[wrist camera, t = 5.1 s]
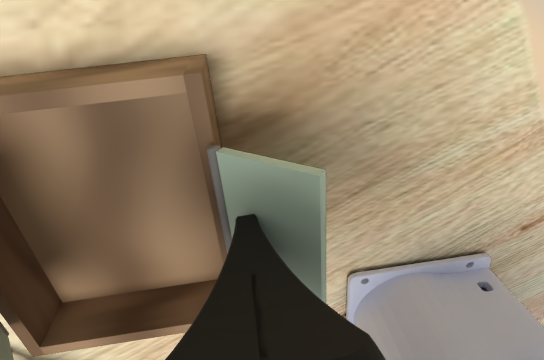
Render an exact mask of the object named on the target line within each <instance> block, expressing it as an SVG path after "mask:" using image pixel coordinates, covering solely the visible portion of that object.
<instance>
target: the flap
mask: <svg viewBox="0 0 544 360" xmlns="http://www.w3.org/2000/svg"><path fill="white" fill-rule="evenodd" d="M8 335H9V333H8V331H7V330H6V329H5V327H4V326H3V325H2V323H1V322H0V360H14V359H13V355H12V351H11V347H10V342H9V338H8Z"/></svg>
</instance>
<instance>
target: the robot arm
mask: <svg viewBox="0 0 544 360" xmlns="http://www.w3.org/2000/svg"><path fill="white" fill-rule="evenodd" d="M490 264H491V257H490V256H489V255H488V254H486V253H481V254H475V255H468V256H462V257H455V258H449V259H442V260H436V261H429V262H423V263H416V264H410V265H403V266H396V267H390V268H383V269H377V270H370V271H364V272H357V273H353V274H351V275H350V276H349V277H348V286H347V309H346V319H345V318H344V317H342V316H341V315H340V314H338V313H337V312H336V311H334V310H333V309H332V308H331V307H329V306H328V305H327V304H326V303H325V302H323V301H322V300H321V299H320V298H319V297H318V296H316V295H315V294H314V293H313V292H312V291H311V290H310V289H309V288H308V287H307V286H306V285H305V284H303V283H302V282H301V280H300V279H299V278H298V277H297V276H296V275H295V274H294V273H293V272H292V271H291V270H290V269H289V267H288V266H287V265H286V264H285V262H284V261H283V260H282V259H281V258H280V256H279V255H278V254H277V252H276V251H275V249H274V248H273V246H272V245H271V244H270V242H269V241H268V239H267V237H266V236H265V234H264V232H263V231H262V229H261V227H260V225H259V222H258V220H257V217H256V216H255V215H254V214H250V215H244V216H237V218H236V221H235V229H234V234H233V238H232V242H231V245H230V248H229V251H228V254H227V257H226V260H225V262H224V265H223V267H222V270H221V272H220V274H219V277H218V279H217V281H216V283H215V285H214V287H213V289H212V291H211V293H210V295H209V297H208V299H207V300H206V302H205V304H204V306H203V307H202V309H201V311H200V312H199V314H198V316H197V317H196V319H195V320H194V322H193V323H192V325H191V326H190V328H189V329H188V330H187V332H186V333H185V335H184V336H183V338H182V339H181V340H180V342H179V343H178V344H177V346H176V347H175V348H174V350H173V351H172V352H171V353H170V355H169V356H168V357H167V358H166V359H165V360H544V327H543V326H542V325H541V324H540V323H539V322H538V321H537V319H536V318H535V317H534V316H533V315H532V314H531V313H530V312H529V311H528V310H527V309H526V308H525V306H524V305H523V304H522V303H521V302H520V301H519V300H518V299H517V298H516V297H515V296H514V295H513V293H512V292H511V291H510V290H509V289H508V288H507V287H506V286H505V285H504V284H503V283H502V282H501V280H500V279H499V278H498V277H497V276H496V275H495V274H494V273H493V272H492V271H491V270H490V269H489V267H490ZM364 278H365V279H364ZM362 279H363V280H362Z"/></svg>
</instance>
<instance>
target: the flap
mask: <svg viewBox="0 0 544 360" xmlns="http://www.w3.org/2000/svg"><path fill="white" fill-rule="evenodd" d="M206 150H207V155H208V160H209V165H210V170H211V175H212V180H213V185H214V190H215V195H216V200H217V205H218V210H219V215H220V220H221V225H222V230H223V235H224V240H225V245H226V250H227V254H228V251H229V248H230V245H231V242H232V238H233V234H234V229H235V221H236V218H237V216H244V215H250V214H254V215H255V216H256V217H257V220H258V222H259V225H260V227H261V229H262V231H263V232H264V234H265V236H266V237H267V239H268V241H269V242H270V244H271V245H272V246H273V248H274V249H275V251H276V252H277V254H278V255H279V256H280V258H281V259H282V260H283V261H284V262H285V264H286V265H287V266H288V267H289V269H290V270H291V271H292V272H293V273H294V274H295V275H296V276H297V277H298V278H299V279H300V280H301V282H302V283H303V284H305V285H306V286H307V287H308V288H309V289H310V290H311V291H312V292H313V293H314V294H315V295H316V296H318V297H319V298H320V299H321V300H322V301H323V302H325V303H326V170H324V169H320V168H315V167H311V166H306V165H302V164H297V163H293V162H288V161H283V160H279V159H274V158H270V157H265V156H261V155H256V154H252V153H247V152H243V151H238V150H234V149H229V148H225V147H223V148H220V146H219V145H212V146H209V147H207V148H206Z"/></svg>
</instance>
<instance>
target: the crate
mask: <svg viewBox="0 0 544 360" xmlns="http://www.w3.org/2000/svg"><path fill="white" fill-rule="evenodd" d="M212 145H219V146H220V148H222V145H221V139H220V134H219V128H218V122H217V116H216V111H215V105H214V99H213V93H212V88H211V82H210V76H209V70H208V65H207V59H206V54H205V55H196V56H187V57H178V58H169V59H159V60H150V61H141V62H132V63H123V64H114V65H105V66H95V67H86V68H77V69H68V70H59V71H50V72H41V73H31V74H22V75H13V76H4V77H0V313H1V315H2V316H3V317H4V319H5V320H6V321H7V323H8V324H9V325H10V327H11V328H12V329H13V331H14V332H15V333H16V335H17V336H18V337H19V339H20V340H21V341H22V343H23V344H24V346H25V347H26V348H27V350H28V351H29V352H30V354H31V355H32V356H33V357H34V356H40V355H47V354H53V353H59V352H65V351H72V350H78V349H84V348H91V347H97V346H103V345H109V344H116V343H122V342H128V341H135V340H141V339H147V338H153V337H160V336H166V335H172V334H179V333H185V332H187V330H188V329H189V328H190V326H191V325H192V323H193V322H194V320H195V319H196V317H197V316H198V314H199V312H200V311H201V309H202V307H203V306H204V304H205V302H206V300H207V299H208V297H209V295H210V293H211V291H212V289H213V287H214V285H215V283H216V281H217V279H218V277H219V274H220V272H221V270H222V267H223V265H224V262H225V260H226V257H227V250H226V245H225V240H224V235H223V230H222V225H221V220H220V215H219V210H218V205H217V200H216V195H215V190H214V185H213V180H212V175H211V170H210V165H209V160H208V155H207V150H206V148H207V147H209V146H212Z"/></svg>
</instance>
